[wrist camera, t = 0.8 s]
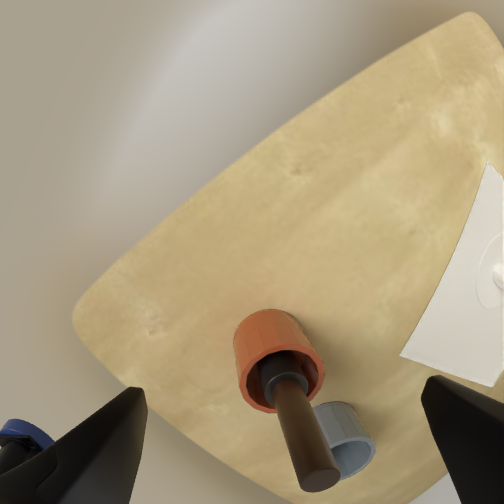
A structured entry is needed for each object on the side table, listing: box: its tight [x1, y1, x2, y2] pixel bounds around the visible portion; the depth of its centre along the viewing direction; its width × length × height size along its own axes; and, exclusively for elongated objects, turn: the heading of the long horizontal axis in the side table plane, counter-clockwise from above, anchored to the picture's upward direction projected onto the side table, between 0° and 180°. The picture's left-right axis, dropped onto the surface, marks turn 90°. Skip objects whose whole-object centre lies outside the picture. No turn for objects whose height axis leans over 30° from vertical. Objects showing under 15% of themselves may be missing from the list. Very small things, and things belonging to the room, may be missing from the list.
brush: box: [256, 350, 342, 492], centre depth 16 cm, size 3×3×11 cm
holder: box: [233, 309, 325, 413], centre depth 21 cm, size 5×5×6 cm
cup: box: [313, 402, 376, 481], centre depth 24 cm, size 6×6×5 cm
